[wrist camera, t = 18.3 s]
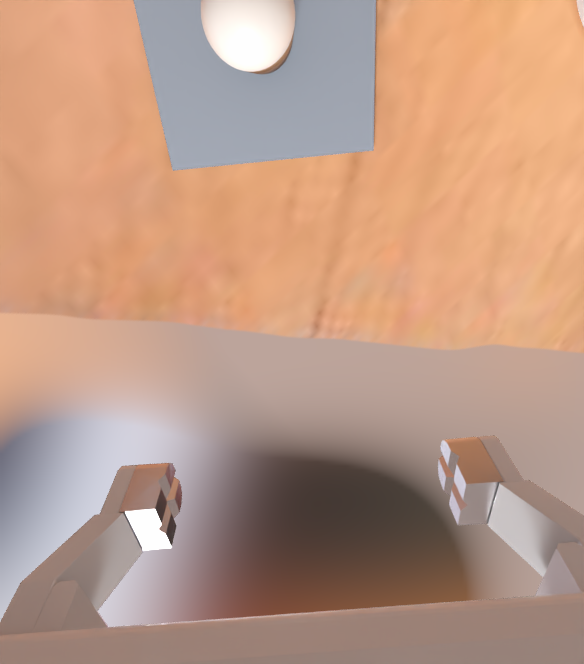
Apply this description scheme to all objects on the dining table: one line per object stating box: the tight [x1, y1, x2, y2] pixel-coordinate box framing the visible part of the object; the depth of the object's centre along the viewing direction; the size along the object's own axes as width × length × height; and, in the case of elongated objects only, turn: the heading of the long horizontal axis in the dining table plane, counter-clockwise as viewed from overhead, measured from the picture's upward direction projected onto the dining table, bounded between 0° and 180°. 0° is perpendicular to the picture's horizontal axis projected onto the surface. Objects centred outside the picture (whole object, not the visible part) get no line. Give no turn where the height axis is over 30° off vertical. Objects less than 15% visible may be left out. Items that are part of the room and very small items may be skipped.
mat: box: [134, 0, 376, 170], centre depth 31 cm, size 18×22×1 cm
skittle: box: [201, 0, 295, 74], centre depth 25 cm, size 5×5×14 cm
